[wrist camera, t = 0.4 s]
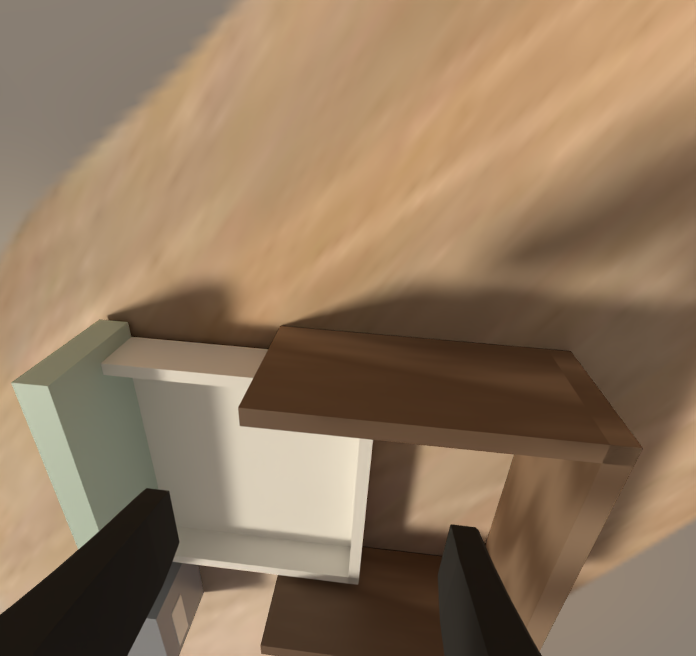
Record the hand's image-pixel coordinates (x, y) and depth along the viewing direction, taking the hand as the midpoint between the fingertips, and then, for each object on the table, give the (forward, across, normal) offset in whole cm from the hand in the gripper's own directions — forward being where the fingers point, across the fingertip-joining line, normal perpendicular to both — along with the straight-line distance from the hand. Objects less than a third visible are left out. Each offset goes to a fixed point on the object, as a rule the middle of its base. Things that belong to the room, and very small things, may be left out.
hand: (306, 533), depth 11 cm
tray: (+10, +6, +7) cm, 13 cm away
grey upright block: (+10, +11, +19) cm, 24 cm away
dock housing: (+10, -3, +7) cm, 13 cm away
